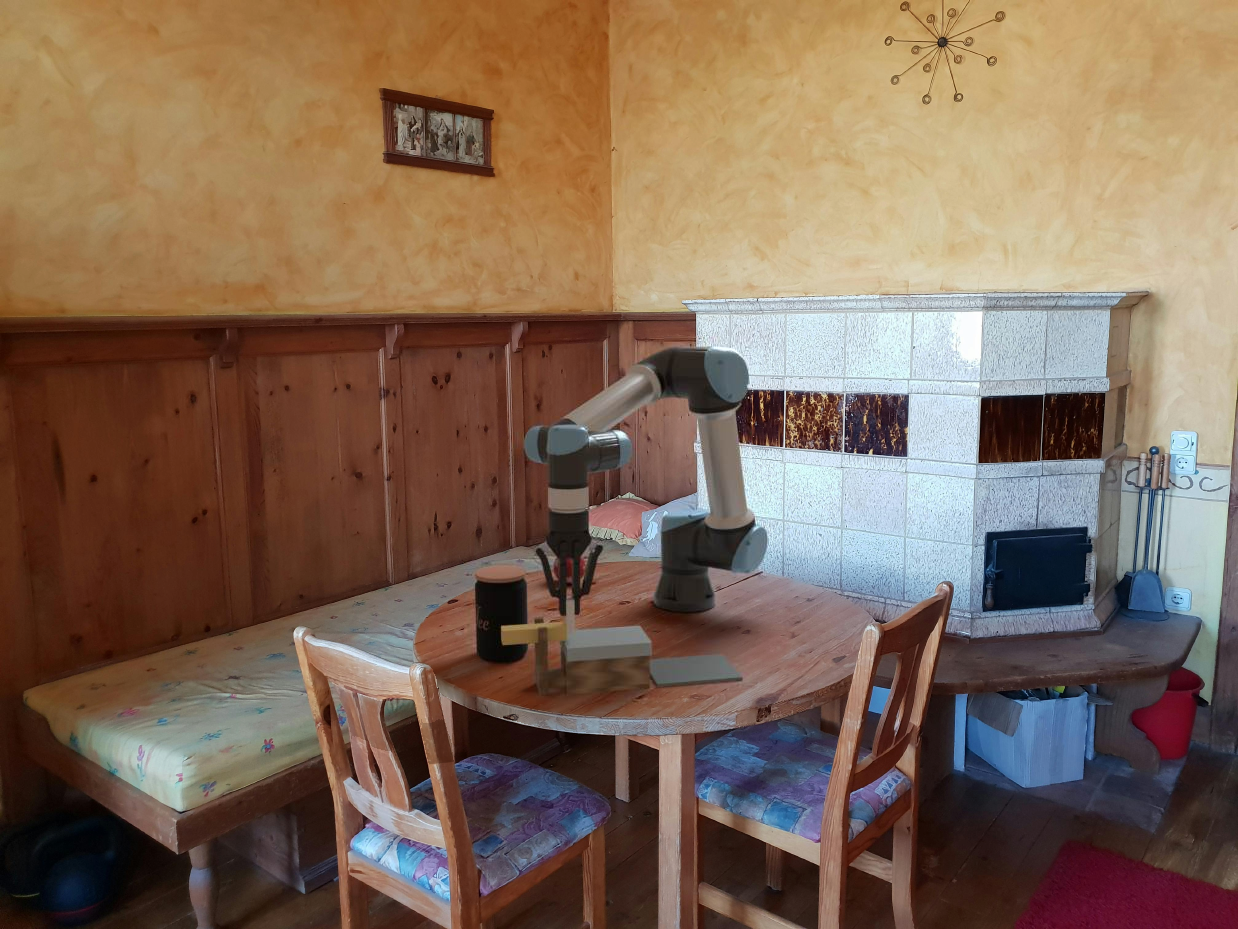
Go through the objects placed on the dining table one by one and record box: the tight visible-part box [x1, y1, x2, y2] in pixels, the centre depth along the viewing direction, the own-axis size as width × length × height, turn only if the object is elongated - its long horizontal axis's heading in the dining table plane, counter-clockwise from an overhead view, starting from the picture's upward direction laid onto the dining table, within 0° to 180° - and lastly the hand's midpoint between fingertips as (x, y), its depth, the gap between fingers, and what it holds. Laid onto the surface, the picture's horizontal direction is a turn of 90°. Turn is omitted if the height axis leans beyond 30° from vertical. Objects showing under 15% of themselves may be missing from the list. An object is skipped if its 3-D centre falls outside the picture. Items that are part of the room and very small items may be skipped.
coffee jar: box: [474, 564, 529, 664], centre depth 193 cm, size 11×11×18 cm
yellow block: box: [501, 621, 567, 645], centre depth 174 cm, size 12×3×3 cm, turn 102°
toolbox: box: [533, 617, 651, 698], centre depth 177 cm, size 21×7×13 cm, turn 102°
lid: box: [559, 625, 653, 662], centre depth 178 cm, size 16×10×4 cm, turn 102°
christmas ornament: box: [552, 556, 587, 585], centre depth 248 cm, size 9×9×10 cm
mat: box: [650, 653, 744, 688], centre depth 185 cm, size 17×13×1 cm
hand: (569, 631), depth 176 cm, fingers closed
